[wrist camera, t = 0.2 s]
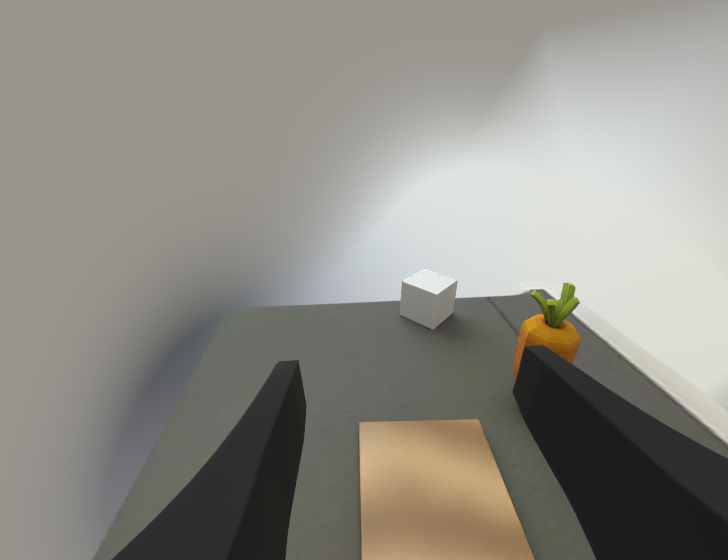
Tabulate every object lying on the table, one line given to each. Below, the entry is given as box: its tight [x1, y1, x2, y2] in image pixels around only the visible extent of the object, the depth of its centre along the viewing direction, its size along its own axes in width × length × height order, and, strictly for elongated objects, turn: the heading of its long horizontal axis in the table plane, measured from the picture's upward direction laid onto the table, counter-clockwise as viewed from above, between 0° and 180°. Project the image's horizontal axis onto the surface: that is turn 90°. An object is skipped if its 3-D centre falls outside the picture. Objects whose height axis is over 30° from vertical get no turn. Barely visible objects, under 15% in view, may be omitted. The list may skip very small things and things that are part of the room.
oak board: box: [359, 420, 535, 560], centre depth 24 cm, size 20×12×1 cm, turn 2°
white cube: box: [400, 269, 457, 330], centre depth 51 cm, size 6×6×6 cm
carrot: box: [514, 283, 581, 382], centre depth 32 cm, size 5×5×15 cm
